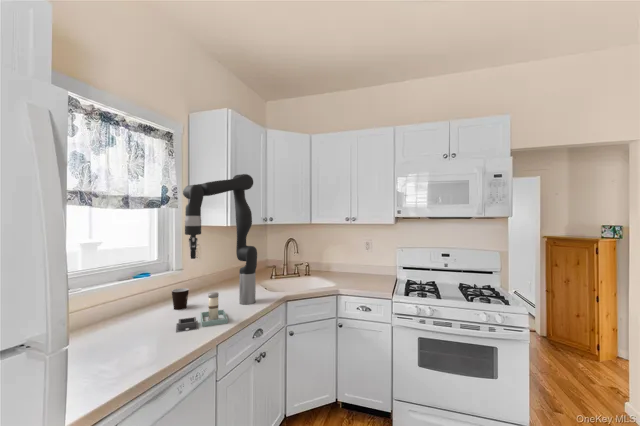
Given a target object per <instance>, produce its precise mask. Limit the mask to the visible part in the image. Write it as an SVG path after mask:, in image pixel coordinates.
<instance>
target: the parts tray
mask: <svg viewBox="0 0 640 426" xmlns="http://www.w3.org/2000/svg"><path fill="white" fill-rule="evenodd" d="M220 315H222V316H223V318H221V319H220V318H218V320H212V321H208V320H205V321H204V319H203V318H204V317H209V310H208V311H203V312H202V311H201V312H200V323H201V327H202V328H203V327H212V326H217V325H223V324H228V320H229V319H228V316H227V314H226V311H225V309H218V316H220Z"/></svg>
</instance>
